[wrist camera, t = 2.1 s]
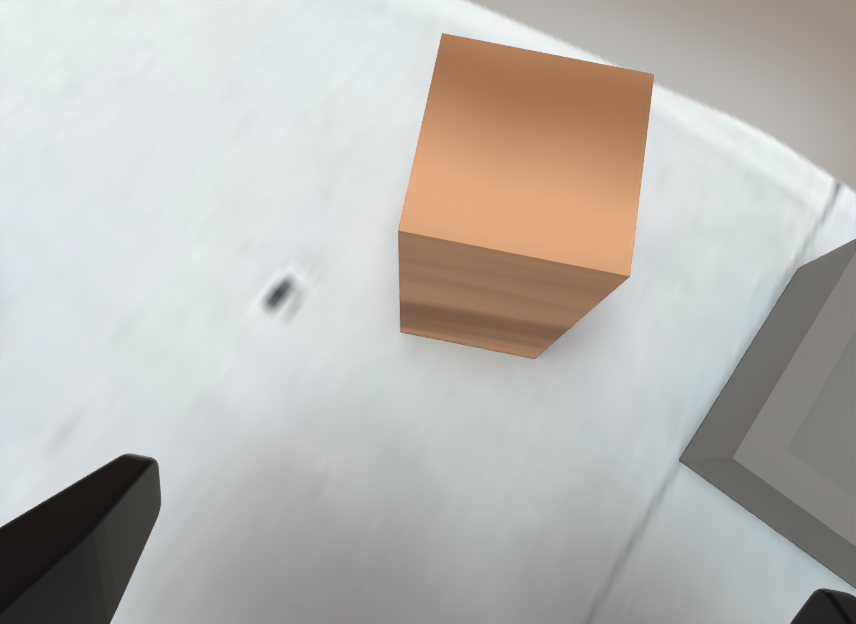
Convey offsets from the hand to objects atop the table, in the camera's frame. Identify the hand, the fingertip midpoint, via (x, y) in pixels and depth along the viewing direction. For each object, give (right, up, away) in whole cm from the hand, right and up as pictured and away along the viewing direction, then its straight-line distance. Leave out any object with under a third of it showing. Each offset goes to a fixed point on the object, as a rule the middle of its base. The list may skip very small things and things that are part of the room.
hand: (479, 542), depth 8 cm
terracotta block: (+1, +4, +15) cm, 16 cm away
